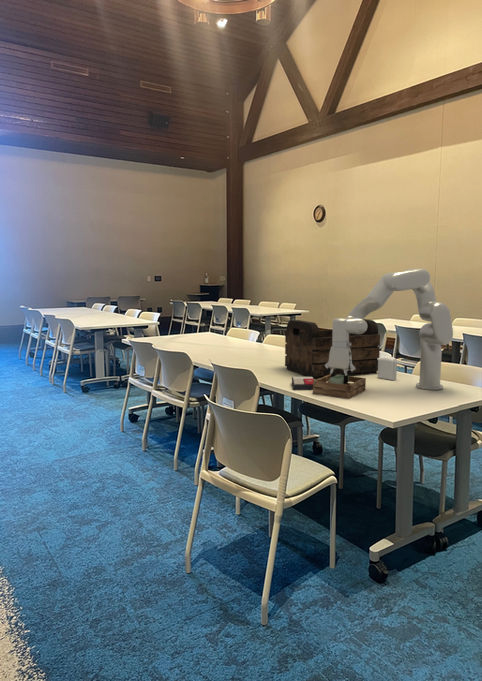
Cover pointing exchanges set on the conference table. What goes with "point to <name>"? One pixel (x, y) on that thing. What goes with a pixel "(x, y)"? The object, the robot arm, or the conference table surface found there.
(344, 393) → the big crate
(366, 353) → the wooden crate
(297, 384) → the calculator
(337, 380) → the box
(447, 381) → the conference table surface
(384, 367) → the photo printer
